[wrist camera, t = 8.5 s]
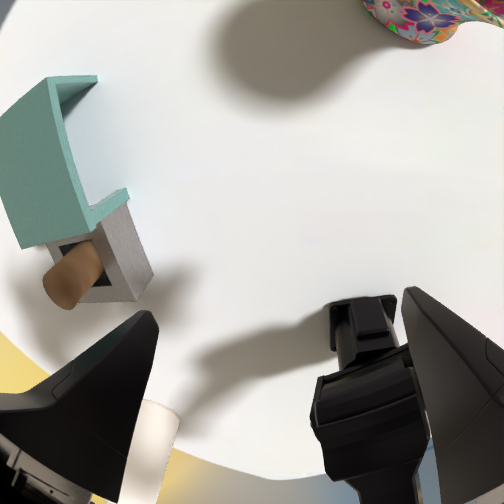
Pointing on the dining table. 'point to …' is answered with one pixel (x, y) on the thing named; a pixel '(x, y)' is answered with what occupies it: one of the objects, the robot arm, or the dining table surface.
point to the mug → (433, 16)
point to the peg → (73, 275)
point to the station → (65, 193)
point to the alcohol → (148, 454)
